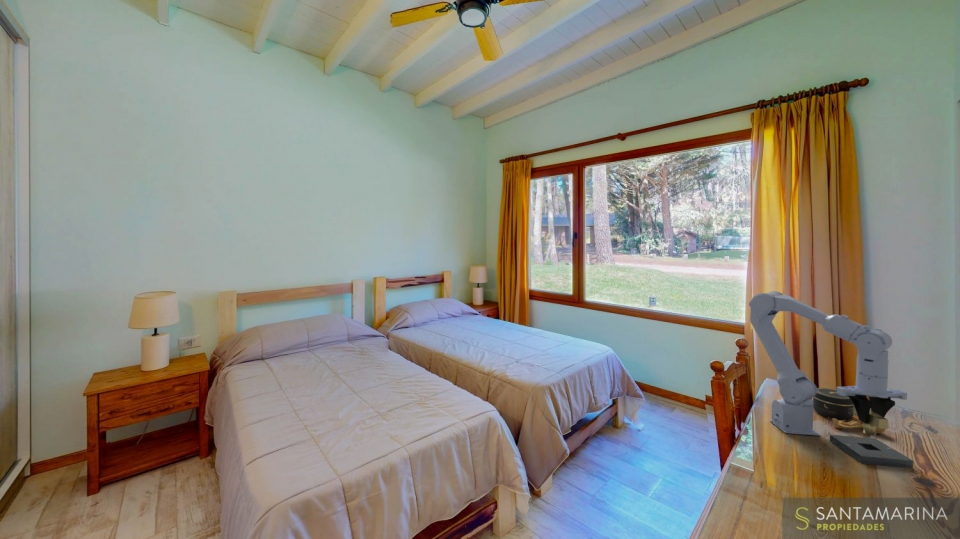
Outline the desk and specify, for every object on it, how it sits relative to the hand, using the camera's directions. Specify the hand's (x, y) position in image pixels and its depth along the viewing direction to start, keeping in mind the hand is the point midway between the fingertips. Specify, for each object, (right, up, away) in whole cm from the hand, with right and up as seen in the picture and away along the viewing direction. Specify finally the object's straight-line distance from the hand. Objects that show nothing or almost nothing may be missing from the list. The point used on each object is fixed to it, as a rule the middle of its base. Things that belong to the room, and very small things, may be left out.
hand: (869, 422), depth 96 cm
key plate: (0, -9, 0) cm, 9 cm away
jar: (+13, -8, +23) cm, 28 cm away
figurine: (+16, -8, +10) cm, 20 cm away
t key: (0, -3, 0) cm, 3 cm away
